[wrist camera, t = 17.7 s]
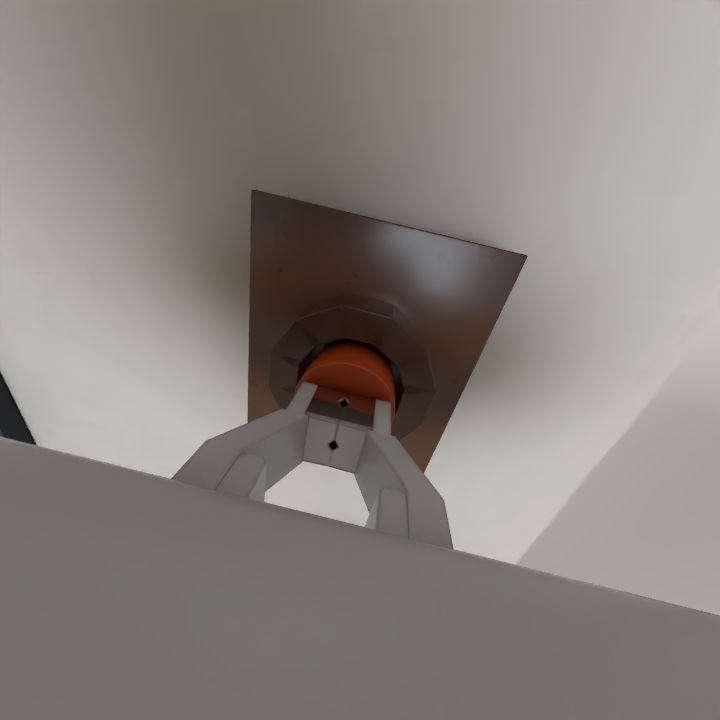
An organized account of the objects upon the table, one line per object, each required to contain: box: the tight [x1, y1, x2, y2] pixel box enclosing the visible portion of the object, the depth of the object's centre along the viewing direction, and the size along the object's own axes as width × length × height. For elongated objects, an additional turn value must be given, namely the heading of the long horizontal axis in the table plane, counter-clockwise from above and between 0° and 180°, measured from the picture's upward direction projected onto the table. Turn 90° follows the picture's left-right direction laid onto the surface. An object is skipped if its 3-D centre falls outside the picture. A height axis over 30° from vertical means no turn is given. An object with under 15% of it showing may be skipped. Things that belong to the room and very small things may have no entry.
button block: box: [248, 189, 527, 473], centre depth 12 cm, size 12×10×4 cm
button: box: [294, 343, 395, 424], centre depth 10 cm, size 4×4×2 cm
